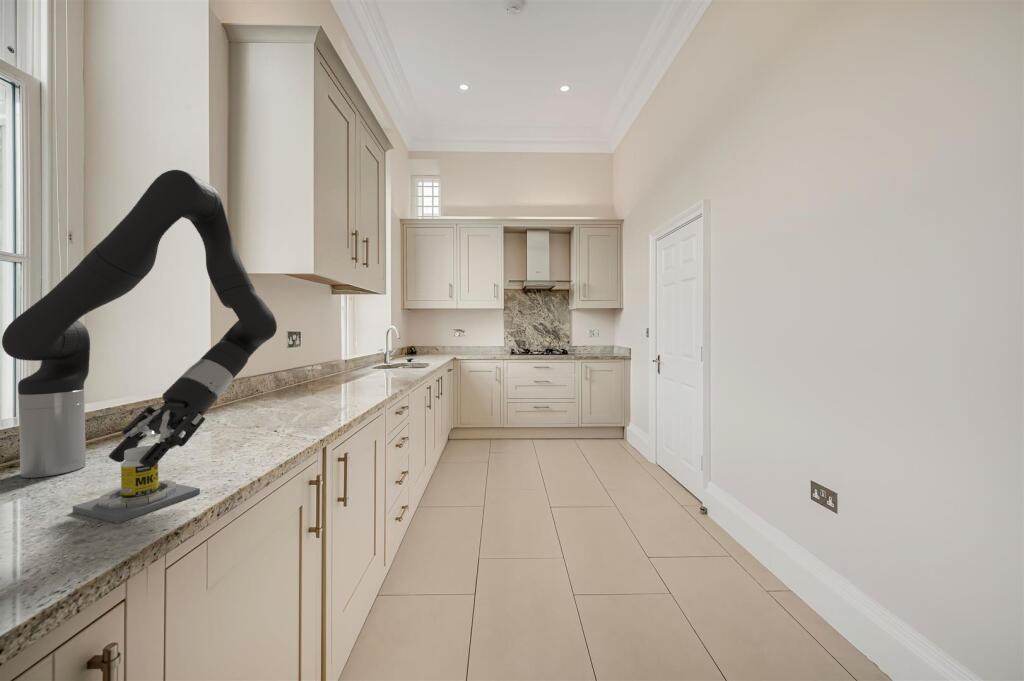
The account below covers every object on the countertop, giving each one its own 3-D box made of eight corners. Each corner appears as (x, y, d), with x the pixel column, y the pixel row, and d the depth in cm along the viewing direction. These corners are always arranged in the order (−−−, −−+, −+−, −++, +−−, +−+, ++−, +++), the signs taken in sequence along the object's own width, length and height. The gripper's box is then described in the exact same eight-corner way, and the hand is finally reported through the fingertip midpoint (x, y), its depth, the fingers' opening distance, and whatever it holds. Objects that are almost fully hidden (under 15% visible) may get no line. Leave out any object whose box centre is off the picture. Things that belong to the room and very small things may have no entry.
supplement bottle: (135, 503, 66) (134, 453, 66) (114, 500, 67) (112, 452, 67) (165, 491, 71) (164, 445, 71) (145, 489, 72) (144, 444, 72)
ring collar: (85, 504, 66) (85, 498, 66) (154, 483, 75) (154, 478, 75) (121, 513, 63) (121, 506, 63) (189, 489, 72) (189, 484, 72)
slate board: (72, 512, 65) (72, 506, 65) (158, 485, 77) (157, 480, 77) (116, 523, 61) (116, 517, 61) (199, 493, 73) (199, 488, 73)
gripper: (160, 374, 78) (83, 447, 67) (210, 376, 73) (135, 456, 63) (190, 396, 83) (123, 468, 72) (238, 400, 78) (174, 477, 68)
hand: (129, 462), depth 68 cm, fingers open, 8 cm apart
